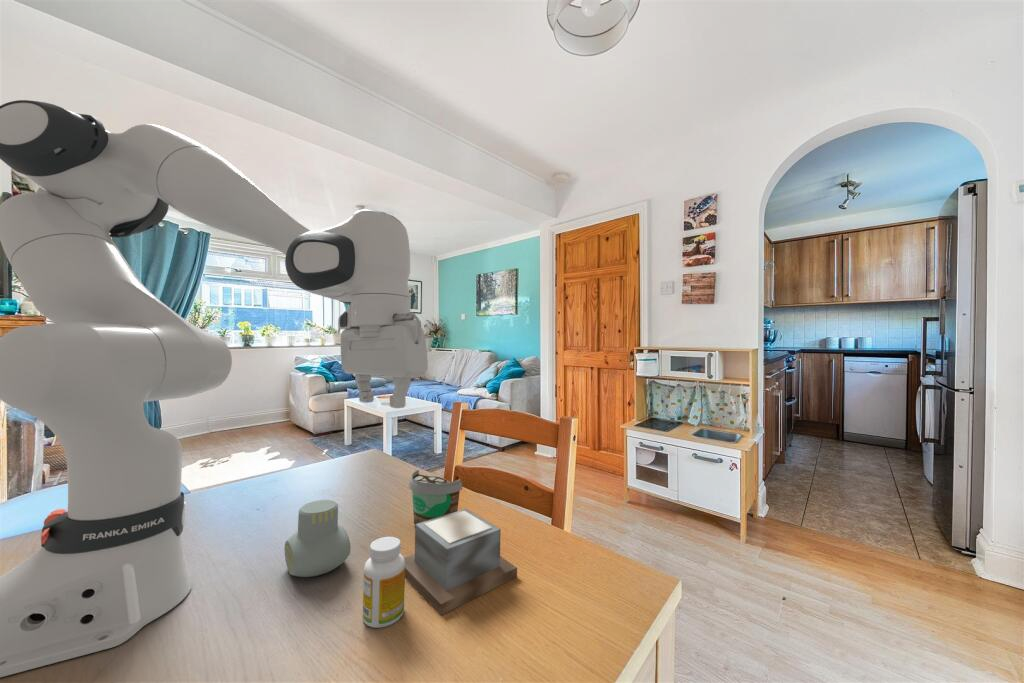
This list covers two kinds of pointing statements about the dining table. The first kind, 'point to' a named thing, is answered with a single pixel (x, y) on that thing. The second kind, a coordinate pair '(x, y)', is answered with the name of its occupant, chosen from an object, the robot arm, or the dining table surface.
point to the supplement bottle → (384, 583)
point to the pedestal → (456, 560)
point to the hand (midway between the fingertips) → (381, 404)
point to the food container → (433, 496)
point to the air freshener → (317, 541)
